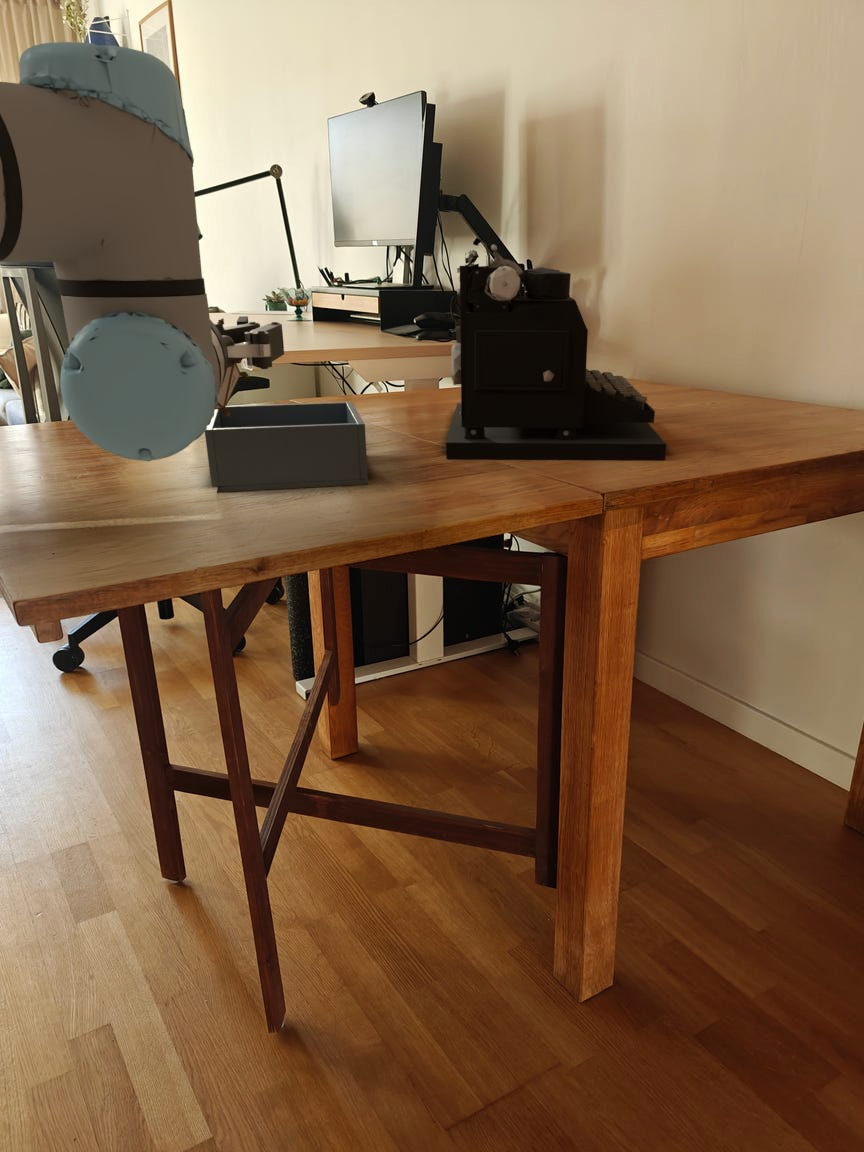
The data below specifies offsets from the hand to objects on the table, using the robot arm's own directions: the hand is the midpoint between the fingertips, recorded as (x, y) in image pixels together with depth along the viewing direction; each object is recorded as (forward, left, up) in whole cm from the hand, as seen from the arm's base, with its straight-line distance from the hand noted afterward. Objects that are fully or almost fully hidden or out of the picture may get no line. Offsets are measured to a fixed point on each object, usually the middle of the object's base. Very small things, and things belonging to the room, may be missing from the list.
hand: (194, 332), depth 78 cm
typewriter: (+43, +31, -17) cm, 56 cm away
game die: (0, -5, -7) cm, 8 cm away
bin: (+7, +16, -17) cm, 24 cm away
